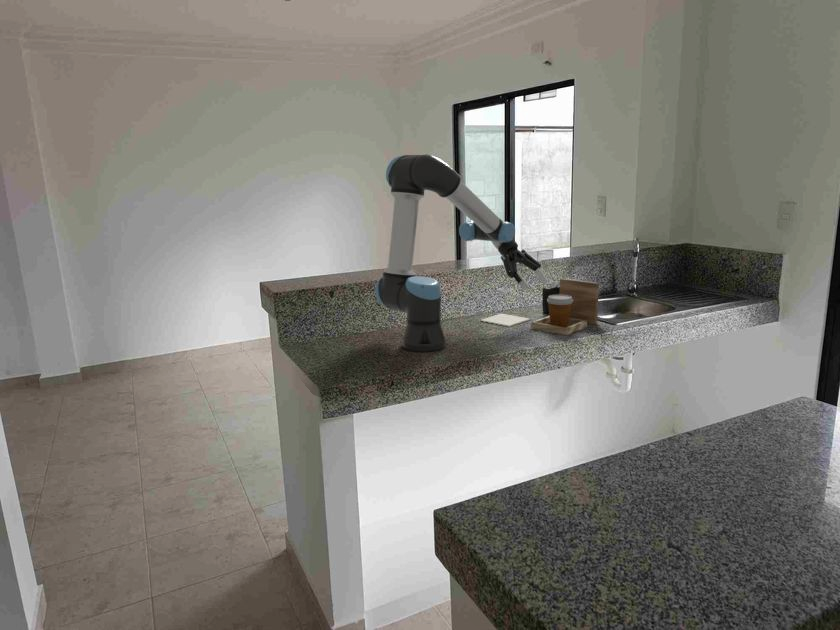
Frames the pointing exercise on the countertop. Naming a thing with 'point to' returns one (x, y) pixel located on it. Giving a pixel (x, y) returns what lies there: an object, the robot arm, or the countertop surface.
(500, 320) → the mat
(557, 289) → the pen holder
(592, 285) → the brown wooden l-shaped tray
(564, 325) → the disposable coffee cup
